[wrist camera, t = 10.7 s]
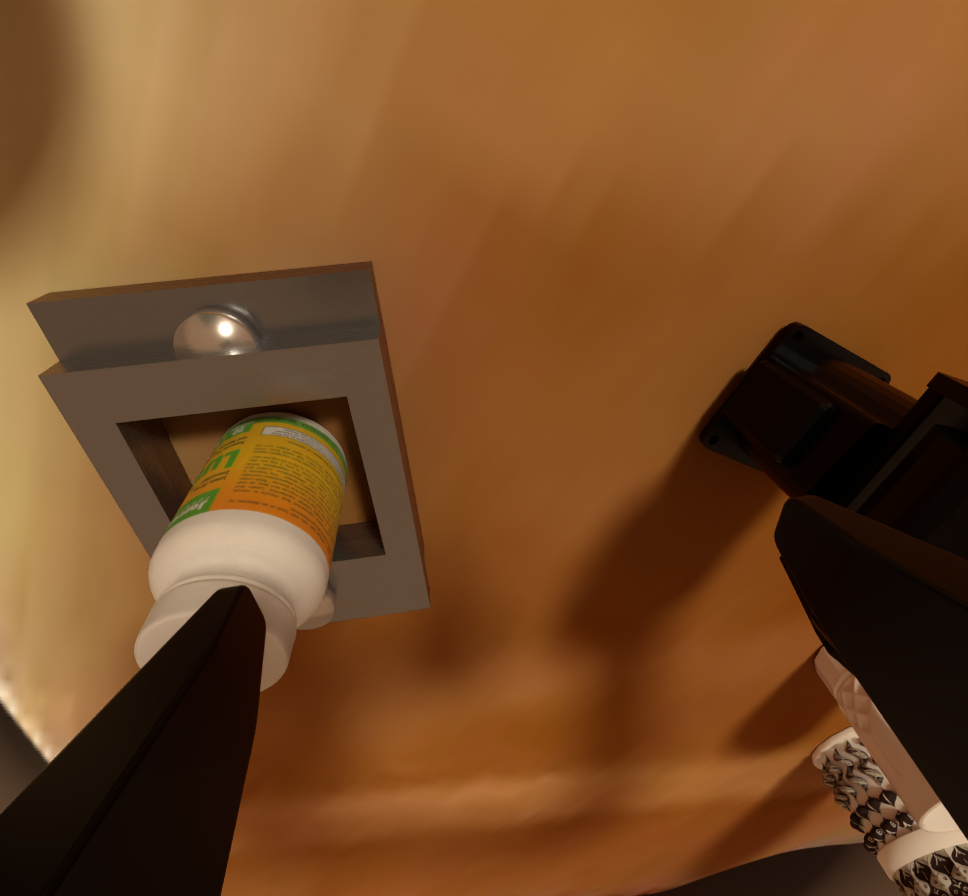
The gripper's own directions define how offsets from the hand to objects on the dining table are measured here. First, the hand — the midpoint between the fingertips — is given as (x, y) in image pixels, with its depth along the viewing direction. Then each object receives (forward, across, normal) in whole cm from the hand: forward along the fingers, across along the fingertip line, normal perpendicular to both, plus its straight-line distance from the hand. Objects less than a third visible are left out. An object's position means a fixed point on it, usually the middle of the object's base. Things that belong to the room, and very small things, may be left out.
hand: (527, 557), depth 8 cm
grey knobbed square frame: (+13, +8, +6) cm, 17 cm away
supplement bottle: (+13, +8, +6) cm, 17 cm away
